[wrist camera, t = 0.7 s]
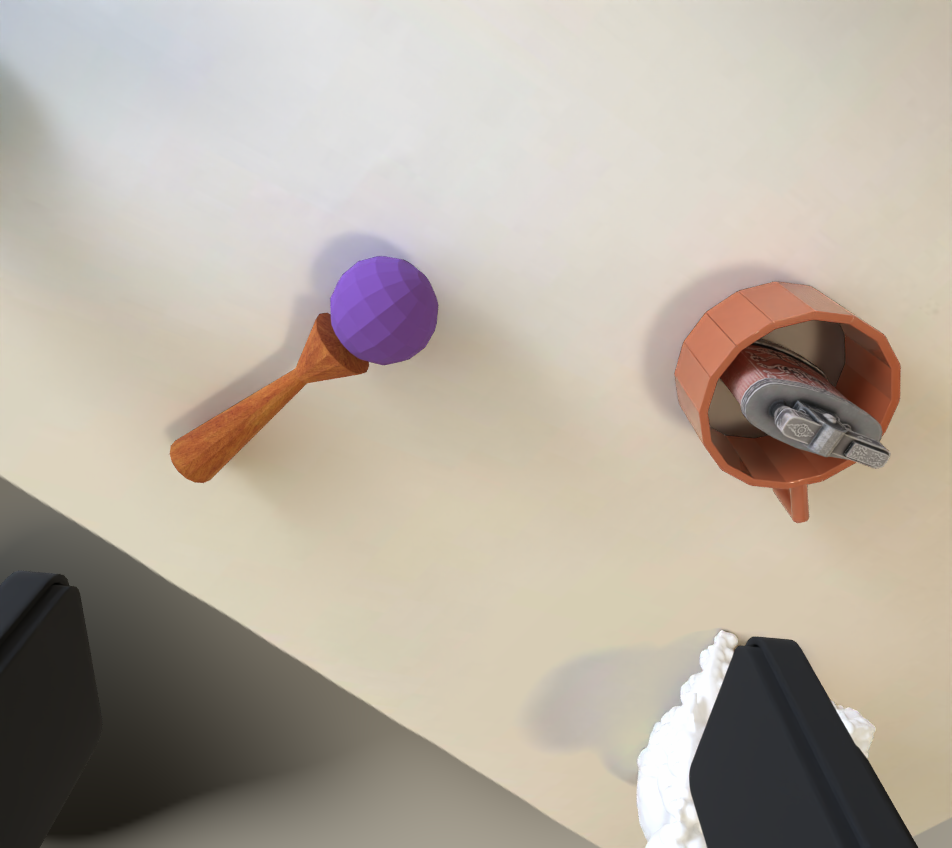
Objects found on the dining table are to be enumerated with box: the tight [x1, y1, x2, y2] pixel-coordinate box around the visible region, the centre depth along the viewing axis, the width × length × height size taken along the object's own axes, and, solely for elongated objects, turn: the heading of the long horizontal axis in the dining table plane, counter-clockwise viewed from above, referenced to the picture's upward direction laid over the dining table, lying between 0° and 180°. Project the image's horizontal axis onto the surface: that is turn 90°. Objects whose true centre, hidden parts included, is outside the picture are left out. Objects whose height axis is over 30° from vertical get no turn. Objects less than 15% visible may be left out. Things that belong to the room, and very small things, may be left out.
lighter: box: [720, 339, 891, 469], centre depth 39 cm, size 8×3×10 cm, turn 69°
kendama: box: [170, 256, 438, 483], centre depth 41 cm, size 6×6×20 cm
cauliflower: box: [637, 630, 876, 848], centre depth 54 cm, size 19×20×20 cm
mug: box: [675, 282, 901, 523], centre depth 42 cm, size 14×11×6 cm
